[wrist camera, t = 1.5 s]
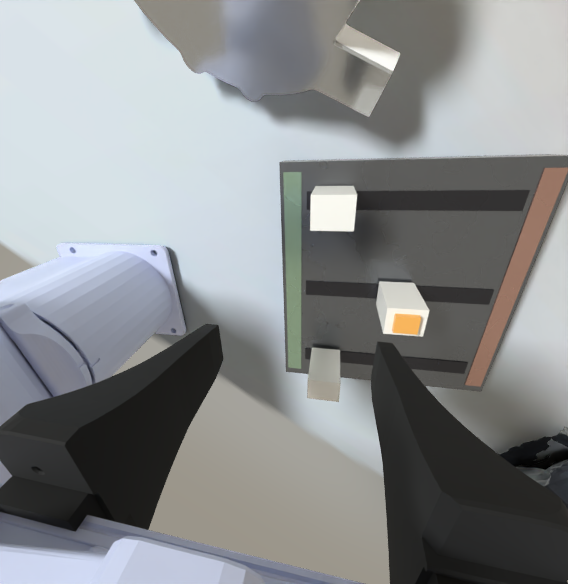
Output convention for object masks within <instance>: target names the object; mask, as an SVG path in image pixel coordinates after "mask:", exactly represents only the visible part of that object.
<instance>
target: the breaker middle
mask: <svg viewBox="0 0 568 584" xmlns="http://www.w3.org/2000/svg"><path fill="white" fill-rule="evenodd" d="M376 306H377V310H378V314H379V319H380V323H381V327H382V331H383V334H395V335H408V336H421V337H423V335H424V331H425V327H426V322H427V318H428V314H429V309H428V307H427V305H426V303H425V302H424V300H423V298H422V296H421V294H420V293H419V291H418V289H417V287H416V285H415V284H414V283H405V282H383V281H379V287H378V294H377V301H376Z"/></svg>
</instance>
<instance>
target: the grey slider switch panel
mask: <svg viewBox="0 0 568 584" xmlns="http://www.w3.org/2000/svg"><path fill="white" fill-rule="evenodd" d="M567 182H568V155H551V154H547V155H505V156H462V157H420V158H377V159H335V160H293V161H282V162H280V192H281V224H282V256H283V288H284V320H285V352H286V372H295V373H305V374H309V366H310V358H311V351H312V348H323V349H335V350H340V377H344V378H354V379H364V380H371V374H372V368H373V363H374V357H375V352H376V346H377V341H378V342H388V343H393V344H394V346H395V347H396V348H397V350H398V351H399V353H400V354H401V356H402V357H403V359H404V360H405V361H406V363H407V364H408V365H409V367H410V368H411V369H412V371H413V372H414V373H415V375H416V376H417V377H418V378H419V380H420V381H421V382H422V383H423V384H424V386H433V387H442V388H452V389H462V390H472V391H482V388H483V386H484V384H485V381H486V379H487V376H488V374H489V371H490V369H491V367H492V364H493V362H494V359H495V357H496V354H497V352H498V350H499V347H500V345H501V342H502V340H503V337H504V335H505V332H506V330H507V328H508V325H509V323H510V320H511V318H512V315H513V313H514V311H515V308H516V306H517V303H518V301H519V298H520V296H521V294H522V291H523V289H524V286H525V284H526V281H527V279H528V277H529V274H530V272H531V269H532V267H533V264H534V262H535V260H536V257H537V255H538V252H539V250H540V247H541V245H542V243H543V240H544V238H545V235H546V233H547V230H548V228H549V226H550V223H551V221H552V218H553V216H554V213H555V211H556V209H557V206H558V204H559V201H560V199H561V196H562V194H563V192H564V189H565V187H566V184H567ZM315 186H354V188H355V191H356V193H357V202H356V214H355V225H354V231H310V205H311V193H312V192H313V190H314V188H315ZM379 281H383V282H405V283H414V284H415V285H416V287H417V289H418V291H419V293H420V294H421V296H422V298H423V300H424V302H425V303H426V305H427V307H428V309H429V314H428V318H427V322H426V327H425V331H424V335H423V337H421V336H408V335H395V334H383V331H382V327H381V323H380V319H379V314H378V310H377V306H376V301H377V294H378V287H379Z"/></svg>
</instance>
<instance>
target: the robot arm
mask: <svg viewBox="0 0 568 584" xmlns="http://www.w3.org/2000/svg"><path fill="white" fill-rule="evenodd" d="M56 248H57V251H58V253H59V256H60V257H58V258H56V259H53V260H51V261H48V262H46V263H43V264H41V265H38V266H36V267H33V268H30V269H28V270H25V271H23V272H20V273H18V274H15V275H13V276H10V277H8V278H5V279H3V280H0V584H364V583H359V582H356V581H352V580H348V579H344V578H340V577H335V576H332V575H328V574H324V573H320V572H316V571H312V570H308V569H304V568H299V567H295V566H291V565H287V564H283V563H279V562H275V561H271V560H267V559H263V558H259V557H255V556H251V555H247V554H243V553H239V552H235V551H231V550H227V549H223V548H219V547H214V546H210V545H206V544H203V543H198V542H195V541H191V540H187V539H182V538H179V537H174V536H170V535H166V534H162V533H158V532H154V531H150V530H148V529H149V526H150V523H151V521H152V518H153V515H154V512H155V509H156V506H157V503H158V500H159V498H160V495H161V493H162V490H163V487H164V485H165V482H166V479H167V477H168V474H169V472H170V469H171V467H172V464H173V462H174V460H175V457H176V455H177V452H178V450H179V448H180V445H181V443H182V440H183V439H184V436H185V434H186V432H187V429H188V427H189V425H190V424H191V421H192V420H193V418H194V416H195V414H196V413H197V411H198V409H199V407H200V405H201V404H202V402H203V400H204V398H205V397H206V395H207V393H208V391H209V390H210V388H211V386H212V384H213V382H214V380H215V379H216V376H217V374H218V372H219V369H220V367H221V364H222V361H223V353H222V347H221V340H220V333H219V326H218V325H211V324H206V325H204V326H202V327H200V328H199V329H197V330H196V331H194V332H192V333H191V334H189V335H188V336H186V337H185V338H183V339H181V340H180V341H178V342H177V343H175V344H174V345H172V346H170V347H169V348H167V349H165V350H164V351H162V352H160V353H158V354H157V355H155V356H153V357H152V358H150V359H148V360H146V361H144V362H142V363H141V364H138V365H137V366H135V367H132V368H130V369H128V370H126V371H124V372H122V373H119V374H117V375H115V376H112V375H113V374H114V373H115V372H116V371H117V370H118V369H119V368H120V367H121V366H122V365H123V364H124V363H125V362H126V361H127V360H128V359H129V358H130V357H131V356H132V355H133V354H134V353H135V352H136V351H137V350H138V349H139V348H140V347H141V346H142V345H143V344H144V343H145V342H146V341H147V340H148V339H149V338H150V337H151V336H152V335H153V334H154V333H155V334H167V335H179V336H182V335H184V334H185V332H186V326H185V322H184V317H183V313H182V309H181V304H180V300H179V295H178V291H177V287H176V282H175V278H174V274H173V269H172V265H171V260H170V256H169V252H168V250H167V248H166V247H164V246H161V245H128V244H93V243H60V244H58V245H57V247H56ZM74 249H75V250H76V251H75V250H74ZM154 250H155V251H156V252H157V255H156V254H155V253H154ZM173 328H174V329H175V330H174V329H173ZM111 376H112V377H111ZM371 390H372V402H373V408H374V414H375V419H376V425H377V431H378V436H379V442H380V447H381V454H382V461H383V473H384V485H385V499H386V513H387V530H388V548H389V570H390V584H568V583H567V580H568V509H567V508H566V506H565V505H564V503H563V502H562V500H561V499H560V497H558V496H557V495H555V494H554V493H552V492H551V491H549V490H548V489H547V488H545V487H544V486H542V485H541V484H539V483H538V482H536V481H535V480H533V479H532V478H530V477H529V476H527V475H526V474H524V473H523V472H521V471H520V470H519V469H517V468H516V467H514V466H513V465H512V464H510V463H509V462H508V461H506V460H505V459H504V458H502V457H501V456H500V455H498V454H497V453H496V452H494V451H493V450H492V449H491V448H489V447H488V446H487V445H486V444H484V443H483V442H482V441H481V440H480V439H478V438H477V437H476V436H475V435H474V434H473V433H471V432H470V431H469V430H468V429H467V428H466V427H464V426H463V425H462V424H461V423H460V422H459V421H458V420H457V419H456V418H455V417H454V416H453V415H452V414H450V413H449V412H448V411H447V410H446V409H445V408H444V407H443V406H442V405H441V404H440V403H439V402H438V400H437V399H436V398H435V397H434V396H433V395H432V394H431V393H430V392H429V390H428V389H427V388H426V387H425V386H424V384H423V383H422V382H421V381H420V380H419V378H418V377H417V376H416V375H415V373H414V372H413V371H412V369H411V368H410V367H409V365H408V364H407V363H406V361H405V360H404V359H403V357H402V356H401V354H400V353H399V351H398V350H397V348H396V347H395V346H394V344H393V343H388V342H378V341H377V346H376V352H375V357H374V363H373V368H372V374H371Z"/></svg>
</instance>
